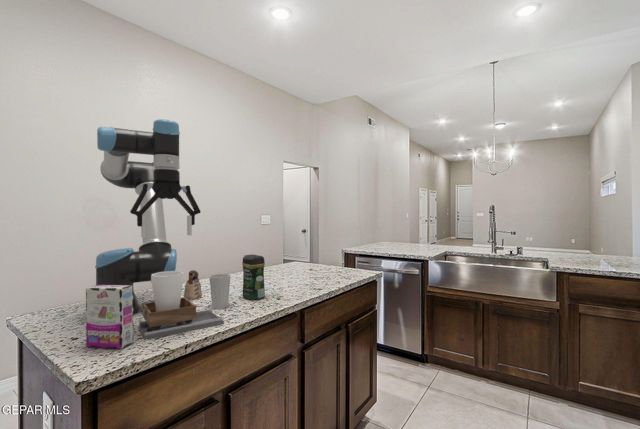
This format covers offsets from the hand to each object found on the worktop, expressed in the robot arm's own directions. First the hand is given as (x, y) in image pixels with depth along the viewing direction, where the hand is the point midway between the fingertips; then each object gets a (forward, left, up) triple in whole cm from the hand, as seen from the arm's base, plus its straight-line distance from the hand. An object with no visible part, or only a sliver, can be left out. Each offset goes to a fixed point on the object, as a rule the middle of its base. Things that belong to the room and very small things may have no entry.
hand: (167, 236), depth 105 cm
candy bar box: (+5, -16, -29) cm, 34 cm away
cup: (-14, +22, -29) cm, 39 cm away
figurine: (-34, +17, -29) cm, 48 cm away
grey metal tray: (0, +4, -29) cm, 29 cm away
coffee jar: (-18, +38, -29) cm, 51 cm away
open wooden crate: (0, 0, -27) cm, 27 cm away
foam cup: (0, 0, -25) cm, 25 cm away
